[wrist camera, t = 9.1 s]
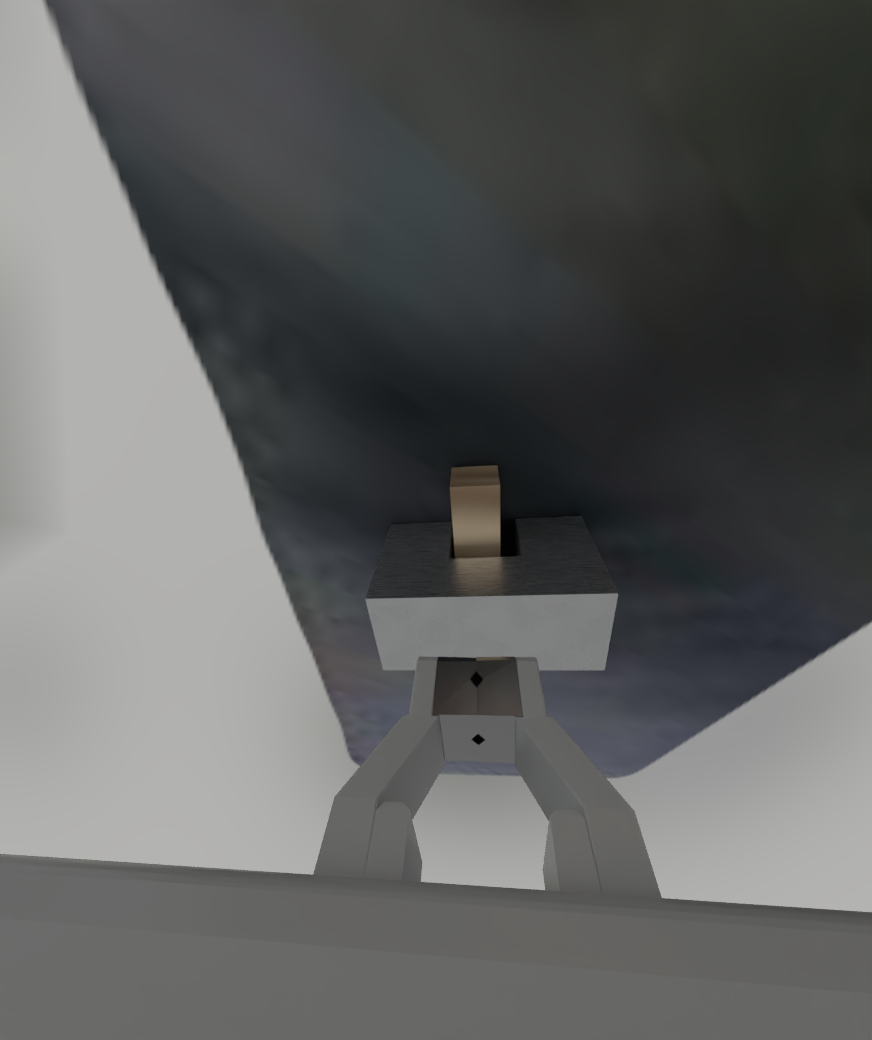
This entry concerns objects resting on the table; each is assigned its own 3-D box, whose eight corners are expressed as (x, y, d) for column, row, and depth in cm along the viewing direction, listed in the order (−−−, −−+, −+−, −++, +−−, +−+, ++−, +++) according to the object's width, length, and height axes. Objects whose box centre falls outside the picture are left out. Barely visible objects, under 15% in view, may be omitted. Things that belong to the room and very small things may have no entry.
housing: (390, 524, 29) (365, 598, 22) (581, 515, 27) (618, 593, 20) (402, 587, 32) (383, 670, 25) (574, 582, 30) (604, 670, 23)
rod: (451, 467, 26) (449, 487, 24) (497, 465, 26) (500, 484, 23) (464, 637, 34) (463, 665, 32) (498, 636, 34) (500, 665, 31)
